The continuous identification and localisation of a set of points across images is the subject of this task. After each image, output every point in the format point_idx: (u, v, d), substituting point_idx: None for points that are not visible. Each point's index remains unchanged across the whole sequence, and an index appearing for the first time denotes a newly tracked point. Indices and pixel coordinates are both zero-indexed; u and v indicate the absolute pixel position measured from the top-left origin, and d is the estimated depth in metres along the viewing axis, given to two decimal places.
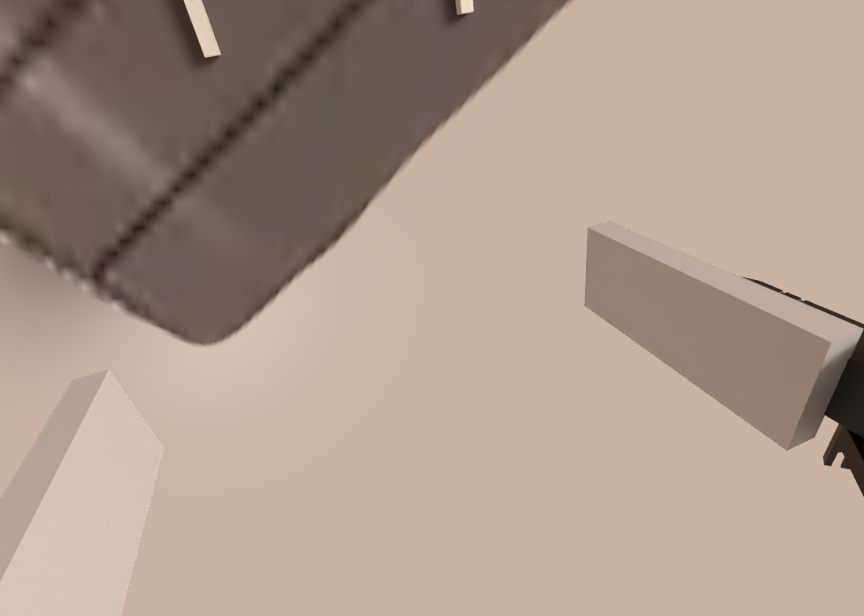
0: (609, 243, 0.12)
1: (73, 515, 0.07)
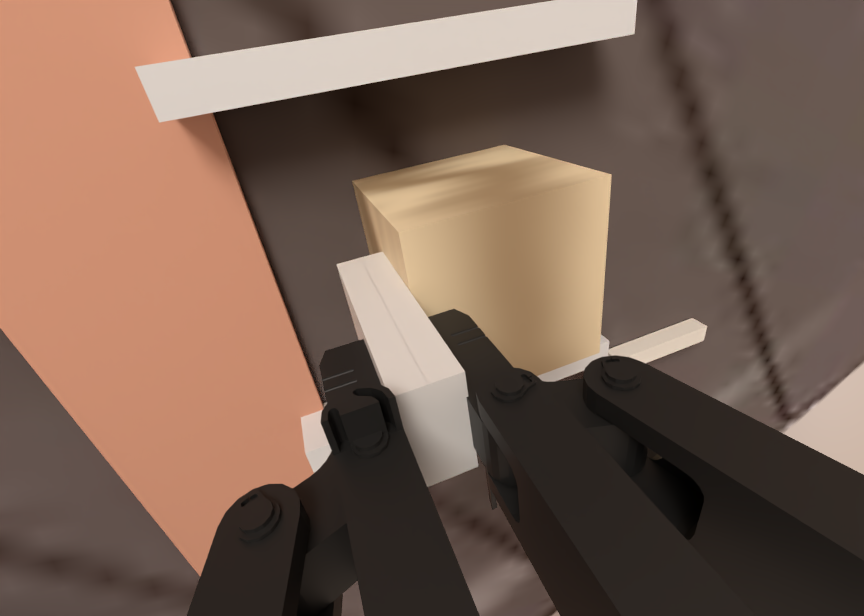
0: (366, 274, 0.13)
1: None
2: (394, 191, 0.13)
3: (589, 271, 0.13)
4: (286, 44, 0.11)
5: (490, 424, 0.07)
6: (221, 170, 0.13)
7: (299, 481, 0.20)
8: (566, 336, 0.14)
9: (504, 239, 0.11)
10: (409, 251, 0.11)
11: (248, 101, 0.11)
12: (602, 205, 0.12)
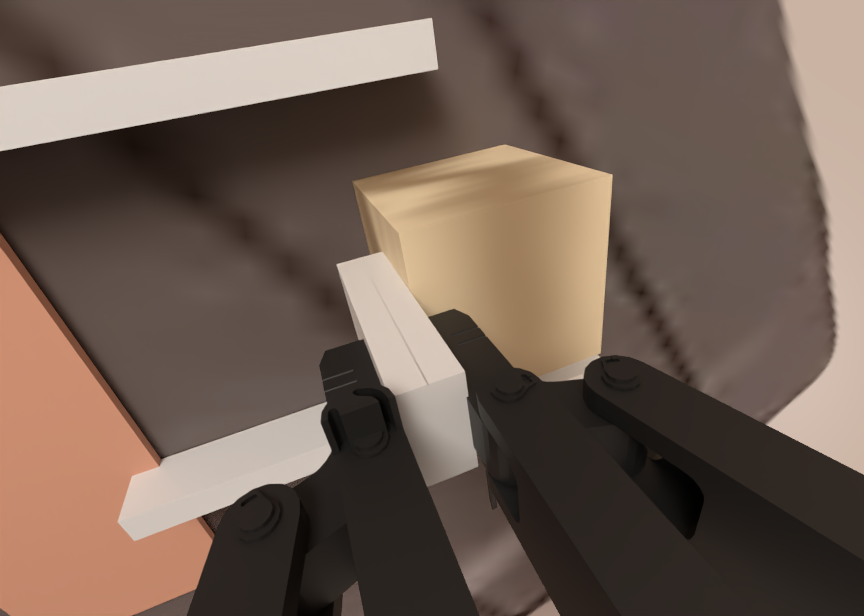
0: (366, 274, 0.13)
1: None
2: (394, 191, 0.13)
3: (590, 272, 0.13)
4: None
5: (490, 424, 0.07)
6: None
7: (145, 539, 0.19)
8: (567, 337, 0.14)
9: (504, 240, 0.11)
10: (409, 252, 0.10)
11: None
12: (603, 205, 0.12)
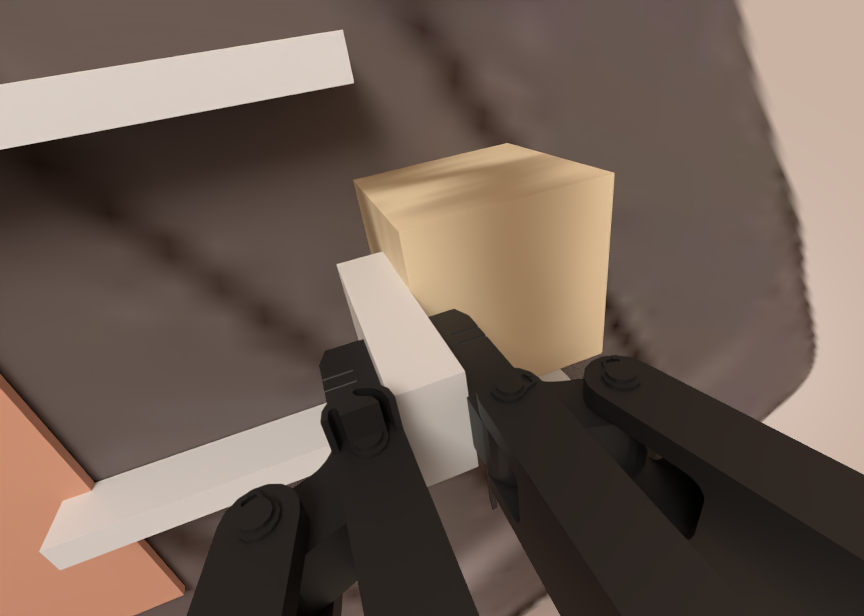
0: (366, 274, 0.13)
1: None
2: (395, 190, 0.13)
3: (591, 271, 0.13)
4: None
5: (490, 424, 0.07)
6: None
7: (83, 564, 0.18)
8: (568, 336, 0.14)
9: (505, 238, 0.11)
10: (409, 250, 0.10)
11: None
12: (605, 204, 0.12)
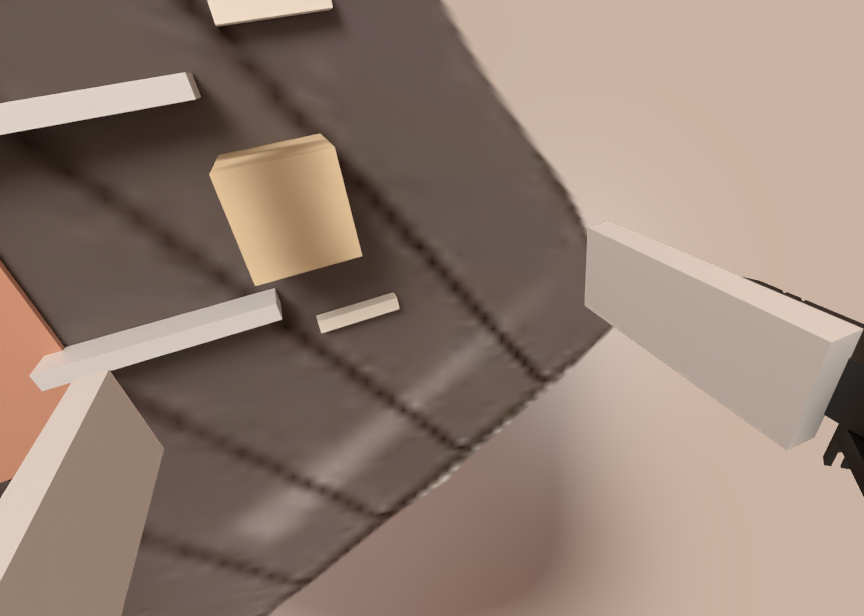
0: (609, 243, 0.12)
1: (73, 515, 0.07)
2: (231, 158, 0.23)
3: (338, 203, 0.23)
4: None
5: None
6: None
7: None
8: (334, 243, 0.24)
9: (275, 181, 0.21)
10: (217, 185, 0.21)
11: None
12: (334, 164, 0.22)
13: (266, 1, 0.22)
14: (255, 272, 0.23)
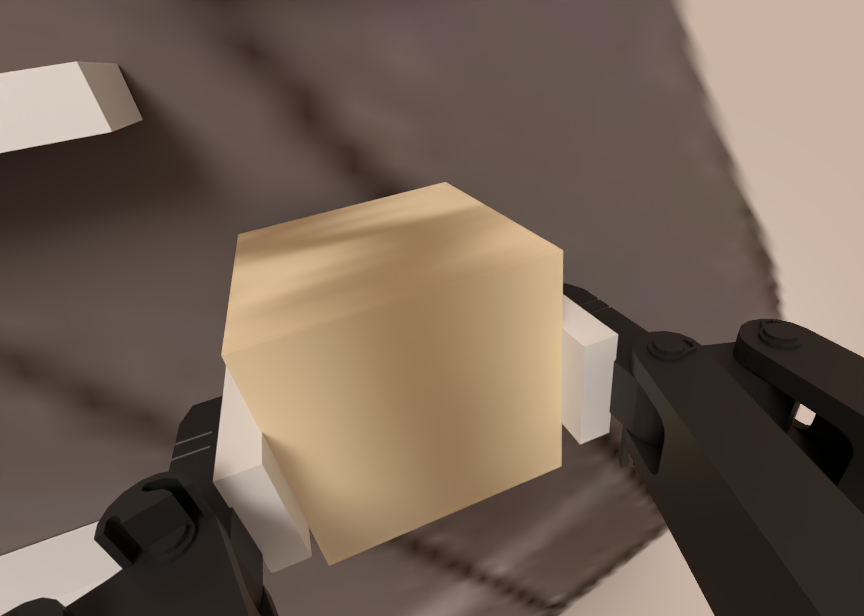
0: None
1: None
2: (273, 259, 0.10)
3: (539, 375, 0.09)
4: None
5: (644, 377, 0.08)
6: None
7: None
8: (512, 454, 0.10)
9: (402, 349, 0.08)
10: (246, 378, 0.07)
11: None
12: (552, 291, 0.08)
13: None
14: (332, 542, 0.09)
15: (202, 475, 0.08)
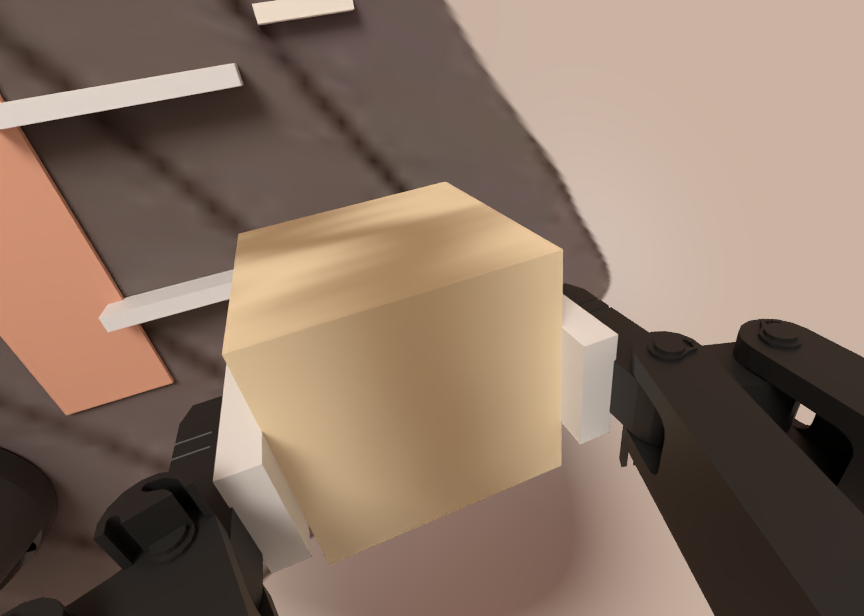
0: None
1: None
2: (273, 258, 0.10)
3: (539, 374, 0.09)
4: (34, 97, 0.23)
5: (644, 377, 0.08)
6: (28, 156, 0.26)
7: (117, 348, 0.33)
8: (512, 453, 0.10)
9: (402, 347, 0.08)
10: (246, 377, 0.07)
11: (19, 123, 0.24)
12: (552, 291, 0.08)
13: (299, 4, 0.26)
14: (332, 541, 0.09)
15: (202, 475, 0.08)
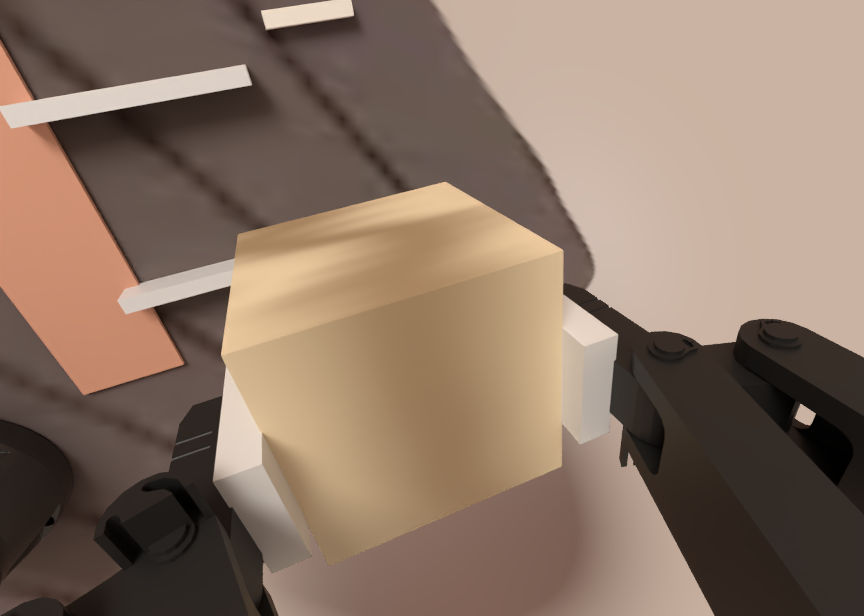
0: None
1: None
2: (272, 259, 0.10)
3: (539, 375, 0.09)
4: (64, 95, 0.26)
5: (644, 377, 0.08)
6: (54, 150, 0.28)
7: (132, 331, 0.35)
8: (512, 454, 0.10)
9: (402, 349, 0.08)
10: (246, 378, 0.07)
11: (50, 119, 0.26)
12: (552, 291, 0.08)
13: (304, 11, 0.29)
14: (332, 542, 0.09)
15: (202, 475, 0.08)
